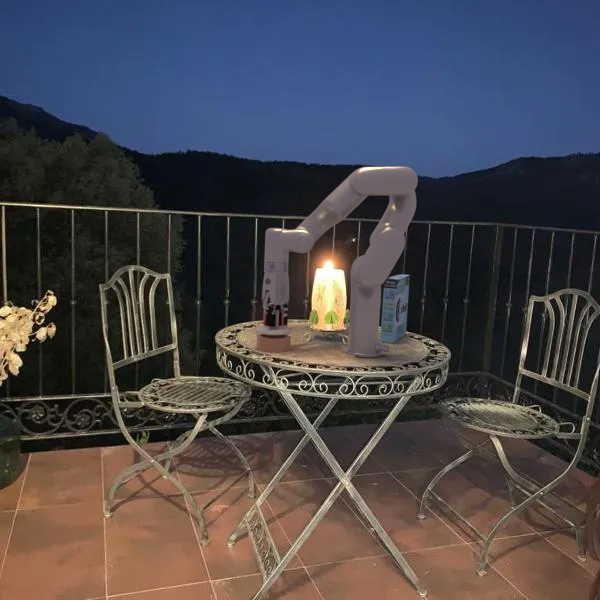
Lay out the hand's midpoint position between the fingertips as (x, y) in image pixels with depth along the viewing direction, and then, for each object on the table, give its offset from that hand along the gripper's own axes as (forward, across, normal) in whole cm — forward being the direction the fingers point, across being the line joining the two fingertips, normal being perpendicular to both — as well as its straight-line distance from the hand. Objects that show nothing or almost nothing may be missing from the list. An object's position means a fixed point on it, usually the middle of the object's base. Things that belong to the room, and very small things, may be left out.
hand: (273, 325), depth 200 cm
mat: (+8, +10, -5) cm, 14 cm away
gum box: (+8, +46, -25) cm, 53 cm away
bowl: (+9, 0, 0) cm, 9 cm away
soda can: (+9, +16, +9) cm, 20 cm away
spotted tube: (+9, +35, +18) cm, 40 cm away
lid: (+2, 0, 0) cm, 2 cm away
